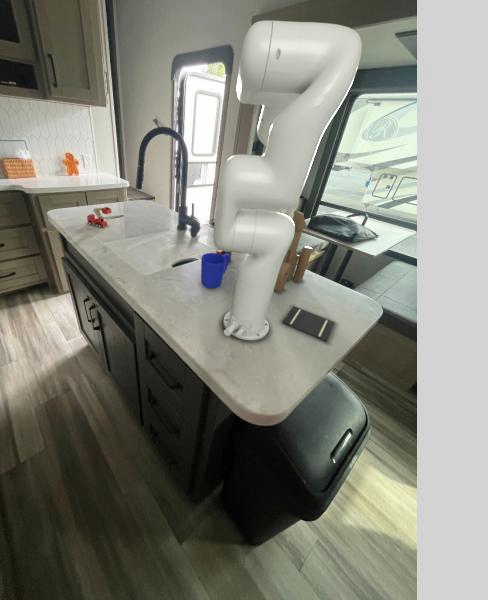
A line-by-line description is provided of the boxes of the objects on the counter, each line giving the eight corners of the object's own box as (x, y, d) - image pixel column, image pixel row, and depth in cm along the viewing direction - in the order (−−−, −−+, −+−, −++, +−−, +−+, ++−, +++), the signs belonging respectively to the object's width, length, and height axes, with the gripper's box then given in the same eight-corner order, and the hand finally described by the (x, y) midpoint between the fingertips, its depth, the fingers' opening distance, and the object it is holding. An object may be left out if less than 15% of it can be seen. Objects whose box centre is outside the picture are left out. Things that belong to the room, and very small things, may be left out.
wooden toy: (278, 293, 90) (300, 220, 76) (262, 284, 94) (280, 213, 80) (303, 280, 98) (327, 212, 84) (287, 273, 102) (308, 206, 88)
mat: (325, 341, 72) (326, 340, 71) (282, 323, 77) (283, 321, 77) (333, 323, 79) (334, 322, 78) (293, 307, 84) (294, 306, 84)
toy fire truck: (91, 222, 134) (88, 202, 129) (113, 227, 130) (111, 207, 124) (86, 223, 132) (83, 203, 126) (108, 229, 127) (106, 209, 122)
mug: (234, 281, 95) (238, 255, 89) (212, 293, 87) (216, 266, 82) (216, 272, 99) (219, 247, 94) (194, 283, 92) (196, 257, 86)
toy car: (223, 257, 111) (225, 244, 107) (231, 260, 109) (233, 247, 106) (213, 263, 105) (214, 250, 102) (221, 266, 103) (223, 253, 100)
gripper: (228, 197, 90) (221, 247, 100) (269, 207, 83) (257, 260, 94) (238, 193, 95) (230, 242, 105) (278, 202, 88) (266, 253, 99)
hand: (243, 250), depth 99 cm, fingers closed
